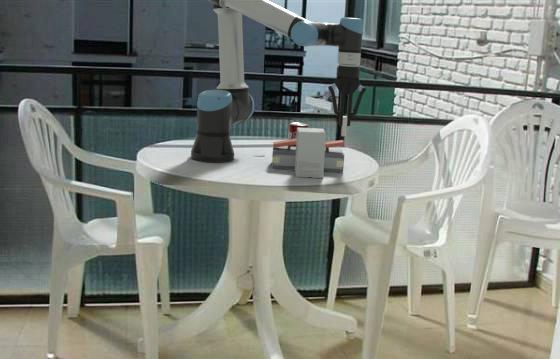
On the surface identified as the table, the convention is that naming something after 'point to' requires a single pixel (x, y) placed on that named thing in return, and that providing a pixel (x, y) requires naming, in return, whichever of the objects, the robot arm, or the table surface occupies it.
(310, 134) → the supplement box
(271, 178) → the table surface
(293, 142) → the left rocker
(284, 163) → the switch unit
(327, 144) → the right rocker
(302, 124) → the soda can
